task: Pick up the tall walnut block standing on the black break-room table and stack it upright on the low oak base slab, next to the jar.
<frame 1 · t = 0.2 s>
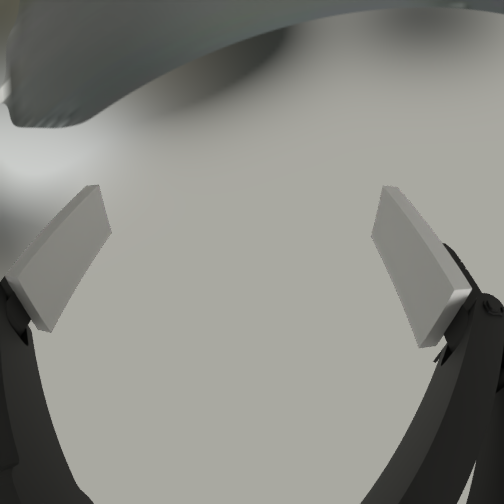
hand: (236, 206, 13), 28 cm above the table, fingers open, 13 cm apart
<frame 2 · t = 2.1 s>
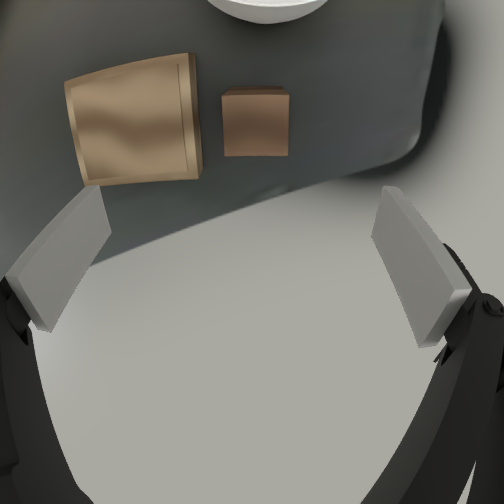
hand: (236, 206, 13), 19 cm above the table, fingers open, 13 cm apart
block: (257, 109, 27), on the table
base: (137, 119, 28), on the table
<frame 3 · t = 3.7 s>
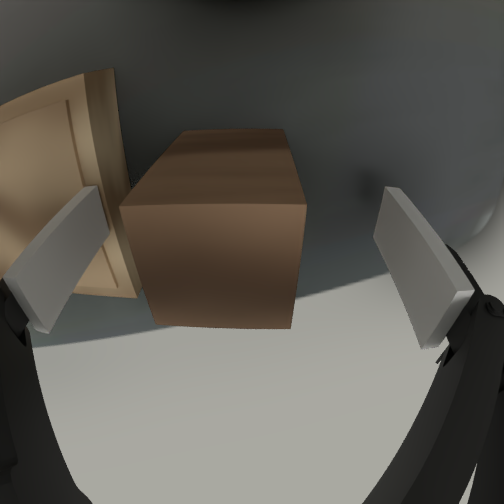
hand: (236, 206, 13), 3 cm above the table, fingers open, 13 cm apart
block: (233, 173, 15), on the table
base: (42, 188, 15), on the table
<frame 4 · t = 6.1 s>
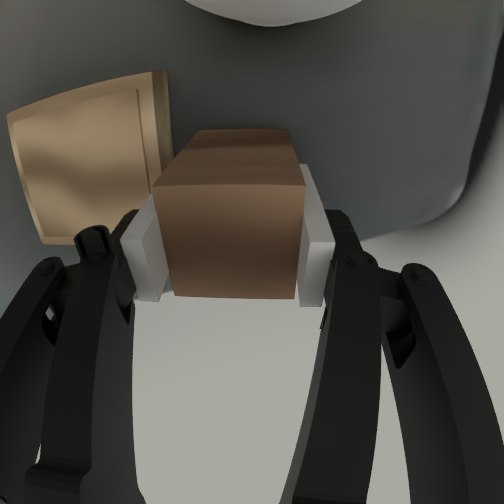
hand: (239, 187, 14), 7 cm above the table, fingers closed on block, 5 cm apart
block: (243, 169, 17), point 4 cm above the table, touching gripper
base: (96, 160, 21), on the table
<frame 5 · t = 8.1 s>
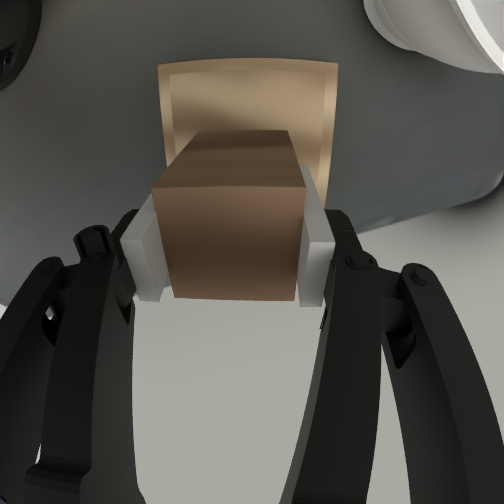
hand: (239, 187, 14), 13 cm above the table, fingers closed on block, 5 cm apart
jar: (402, 10, 16), on the table
block: (243, 170, 17), point 10 cm above the table, touching gripper
base: (248, 127, 25), on the table
when the fingers open (4 cm above the table, at t = 10.3 s): block stays where it is, resting on base.
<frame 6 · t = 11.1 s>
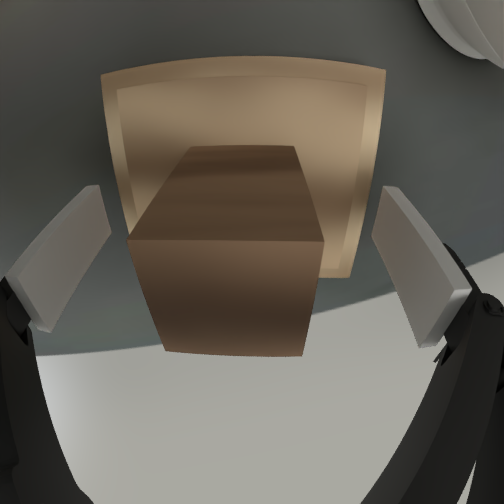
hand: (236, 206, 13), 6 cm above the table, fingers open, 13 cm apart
jar: (460, 1, 9), on the table
block: (242, 191, 15), point 3 cm above the table, touching base
base: (243, 162, 17), on the table
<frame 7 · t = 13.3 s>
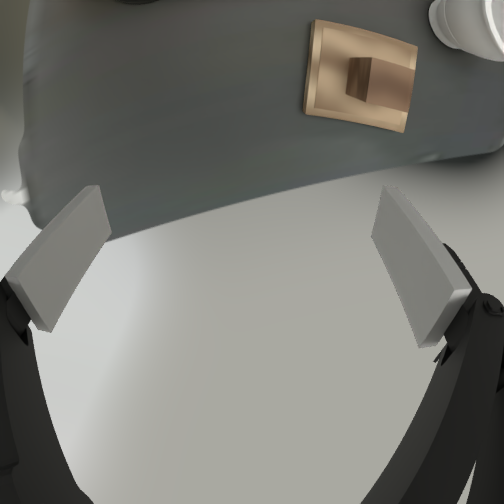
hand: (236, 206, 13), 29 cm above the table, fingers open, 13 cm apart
jar: (448, 23, 24), on the table
block: (366, 79, 29), point 3 cm above the table, touching base
base: (357, 75, 32), on the table
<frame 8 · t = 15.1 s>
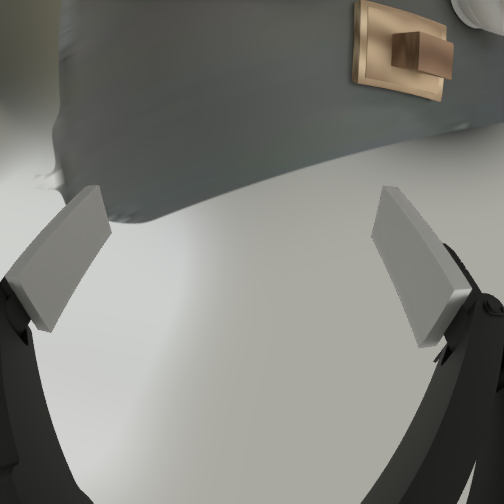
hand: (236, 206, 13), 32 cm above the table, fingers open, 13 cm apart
jar: (467, 6, 22), on the table
block: (407, 53, 28), point 3 cm above the table, touching base
base: (397, 50, 31), on the table
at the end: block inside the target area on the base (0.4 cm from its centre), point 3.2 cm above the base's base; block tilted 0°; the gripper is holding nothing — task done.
